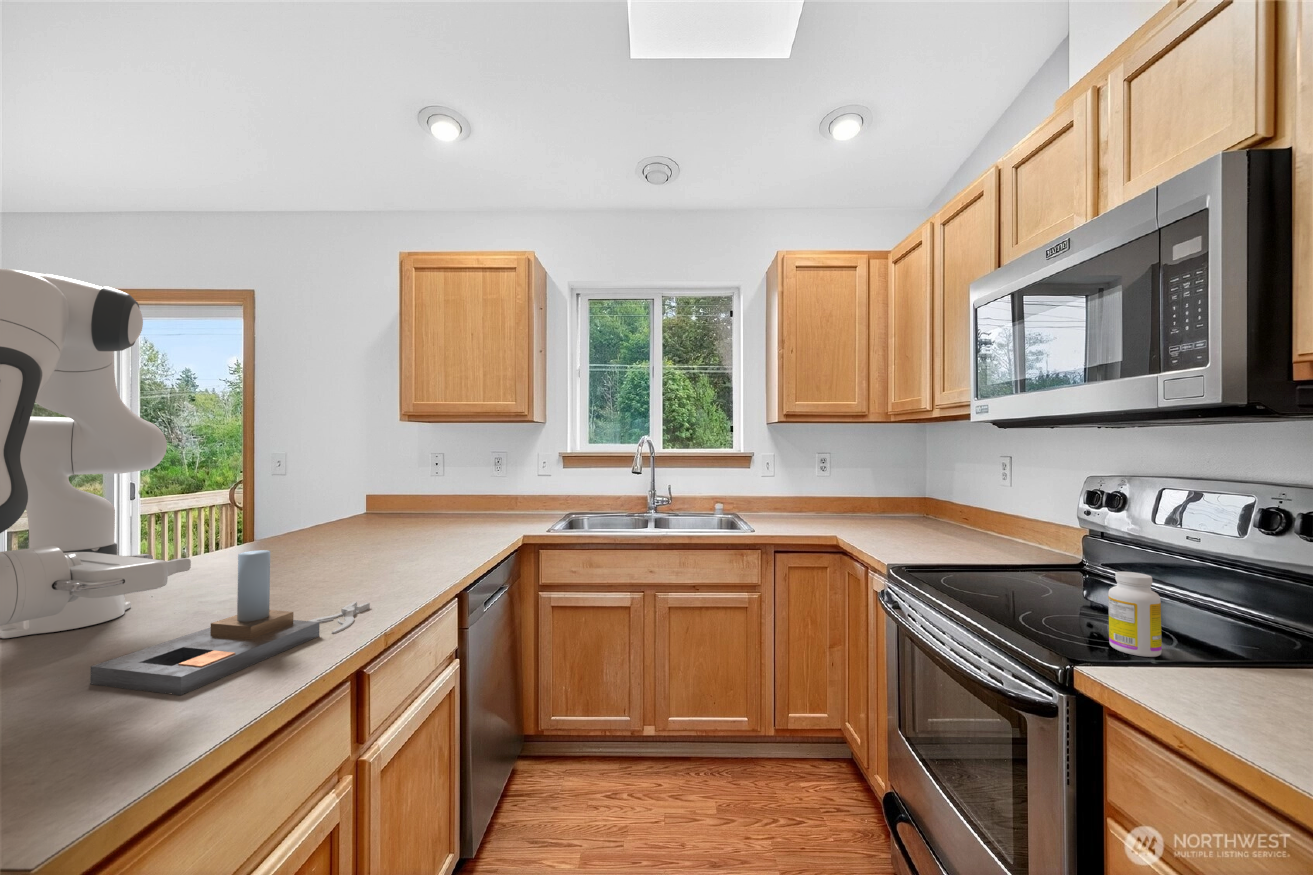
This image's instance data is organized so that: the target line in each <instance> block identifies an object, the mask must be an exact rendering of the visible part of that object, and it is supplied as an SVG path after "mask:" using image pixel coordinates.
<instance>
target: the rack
mask: <svg viewBox="0 0 1313 875" xmlns="http://www.w3.org/2000/svg"><path fill="white" fill-rule="evenodd" d="M320 625H321V623H320V622H313V621H309V620H302V619H301V620H300V619H299V620H298V619H294V611H289V610H288V611H287V610H286V611H285V610H276V609H269V616H268V617H266V618H263V619H260V620H255V621H247V622H241V621H237V614H235V615H233V616H232V615H231V616H229V617H227V618H222V619H219V620H217V621H214V622H211V623H210V627H207V628H204V629H201V630H198V631H195V632H191V633H189V634H186V635H185V634H184V635H182V636H180V637H177V638H173V639H171V640H167V641H164V642H161V643H158V644H155V645H152V646H150V647H146V648H143V649H141V650H137V651H134V652H131V653H127V654H125V655H124V654H123V655H121V656H118V657H116V658H112V659H109V660H106V661H103V662H100V663H97V664H93V665H91V666H90V673H89V674H90V676H89V679H90V681H89V684H90V685H93V686H94V685H95V686H101V687H108V688H109V687H111V688H118V689H120V688H121V689H126V690H134V691H142V690H145V691H144V692H150V691H153V692H152V693H158V692H159V694H166V693H172V694H171V695H174V694H176V696H183V695H185V694H187V693H189V692H192V691H194V690H197V689H199V688H201V686H202V687H204V686H206V685H208V683H209V684H210V683H213V682H216V681H217V680H220V679H222V678H224V677H226V676H230V675H231V674H234V673H237V672H238V671H241V670H243V669H247V668H248V667H250V666H253V665H256V664H257V663H260V662H262V661H264V660H267V659H268V658H269V659H270V658H272V657H274V656H277V655H278V654H281V653H283V652H285V651H288V650H290V649H292V648H295V647H297V646H300V645H302V644H305V643H306V642H309V641H311V640H314V639H316V638H319V637H320ZM184 693H185V694H184ZM182 694H183V695H182Z"/></svg>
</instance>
